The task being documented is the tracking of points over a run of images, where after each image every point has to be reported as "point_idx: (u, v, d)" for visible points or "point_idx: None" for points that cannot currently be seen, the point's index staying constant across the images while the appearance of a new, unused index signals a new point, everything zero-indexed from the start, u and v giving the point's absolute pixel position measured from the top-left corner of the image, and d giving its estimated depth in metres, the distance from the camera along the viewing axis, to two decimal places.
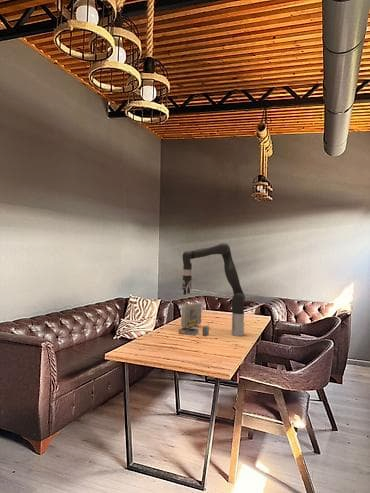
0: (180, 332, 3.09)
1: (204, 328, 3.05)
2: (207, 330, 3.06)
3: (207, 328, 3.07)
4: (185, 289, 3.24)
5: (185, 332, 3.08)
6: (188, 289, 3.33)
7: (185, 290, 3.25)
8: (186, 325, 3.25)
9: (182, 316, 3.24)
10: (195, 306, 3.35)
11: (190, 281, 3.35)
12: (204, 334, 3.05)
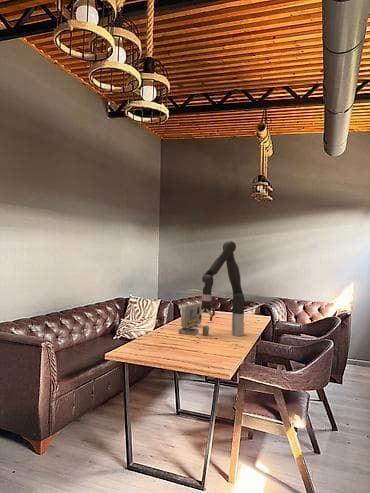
0: (180, 332, 3.09)
1: (204, 328, 3.05)
2: (207, 330, 3.06)
3: (207, 328, 3.07)
4: (212, 315, 3.07)
5: (185, 332, 3.08)
6: (201, 315, 3.09)
7: (211, 316, 3.07)
8: (186, 325, 3.25)
9: (182, 316, 3.24)
10: (195, 306, 3.35)
11: (199, 306, 3.11)
12: (204, 334, 3.05)
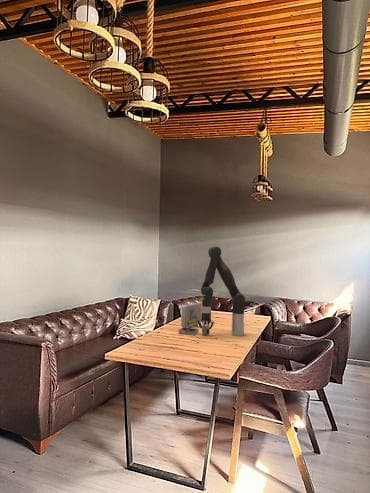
0: (180, 332, 3.09)
1: (204, 328, 3.05)
2: None
3: None
4: None
5: (185, 332, 3.08)
6: None
7: (208, 329, 3.07)
8: (186, 325, 3.25)
9: (182, 316, 3.24)
10: (195, 306, 3.35)
11: (199, 320, 3.10)
12: (204, 334, 3.05)
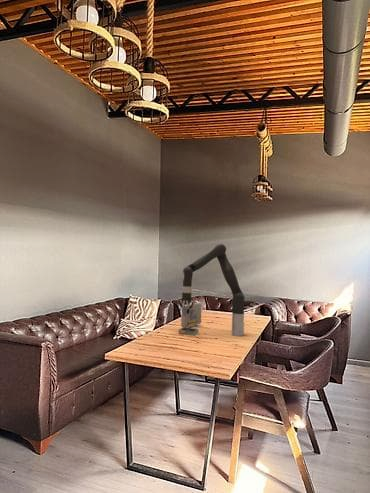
0: (180, 332, 3.09)
1: (184, 308, 3.10)
2: None
3: None
4: None
5: (185, 332, 3.08)
6: None
7: None
8: (186, 325, 3.25)
9: (182, 316, 3.24)
10: (195, 306, 3.35)
11: (180, 300, 3.16)
12: (184, 314, 3.10)
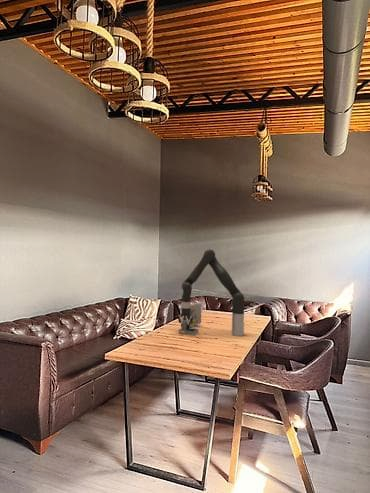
0: (180, 332, 3.09)
1: (183, 324, 3.10)
2: (186, 326, 3.11)
3: None
4: None
5: (185, 332, 3.08)
6: None
7: None
8: None
9: None
10: (195, 306, 3.35)
11: (179, 315, 3.16)
12: None
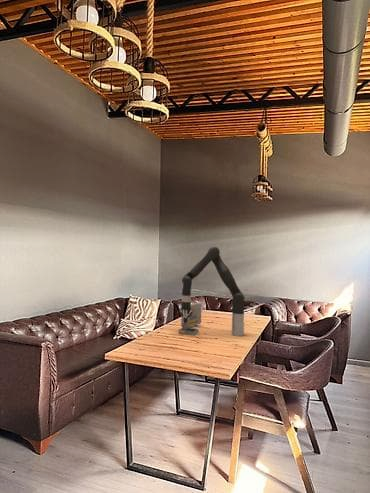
0: (180, 332, 3.09)
1: (183, 324, 3.10)
2: (186, 326, 3.11)
3: (187, 324, 3.12)
4: None
5: (185, 332, 3.08)
6: None
7: None
8: None
9: None
10: (195, 306, 3.35)
11: (179, 310, 3.16)
12: None
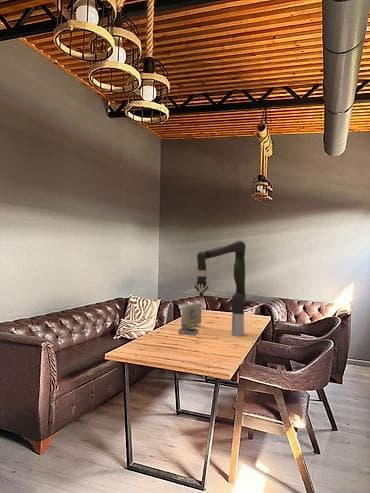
0: (180, 332, 3.09)
1: (183, 324, 3.10)
2: (186, 326, 3.11)
3: (187, 324, 3.12)
4: (203, 291, 3.20)
5: (185, 332, 3.08)
6: None
7: (202, 292, 3.20)
8: None
9: (182, 316, 3.24)
10: (195, 306, 3.35)
11: (195, 285, 3.23)
12: None
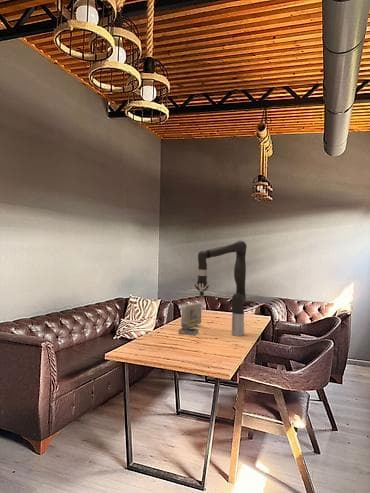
0: (180, 332, 3.09)
1: (183, 324, 3.10)
2: (186, 326, 3.11)
3: (187, 324, 3.12)
4: (203, 290, 3.20)
5: (185, 332, 3.08)
6: None
7: None
8: None
9: (182, 316, 3.24)
10: (195, 306, 3.35)
11: (196, 284, 3.23)
12: None
